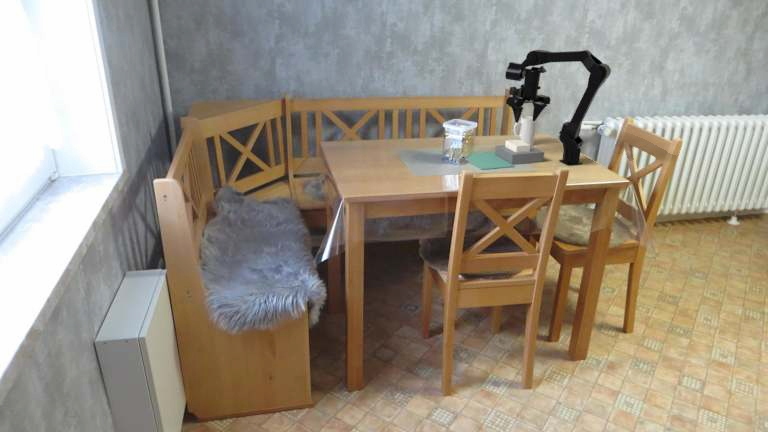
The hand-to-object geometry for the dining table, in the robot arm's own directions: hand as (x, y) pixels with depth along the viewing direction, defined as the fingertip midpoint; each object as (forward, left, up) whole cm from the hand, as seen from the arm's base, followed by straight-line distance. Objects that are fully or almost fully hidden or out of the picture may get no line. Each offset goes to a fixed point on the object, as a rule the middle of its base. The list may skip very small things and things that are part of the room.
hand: (525, 121), depth 222 cm
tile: (-5, +5, -9) cm, 11 cm away
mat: (-5, +19, -14) cm, 24 cm away
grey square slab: (-5, +4, -14) cm, 15 cm away
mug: (+14, -9, -14) cm, 22 cm away
